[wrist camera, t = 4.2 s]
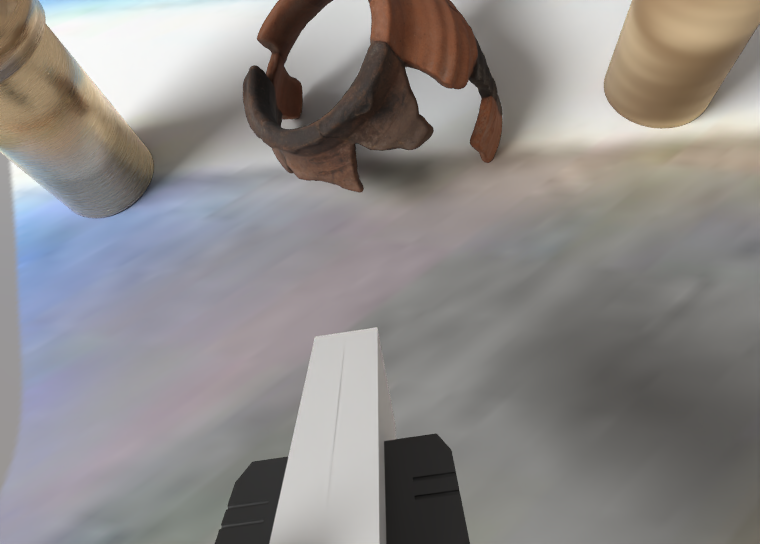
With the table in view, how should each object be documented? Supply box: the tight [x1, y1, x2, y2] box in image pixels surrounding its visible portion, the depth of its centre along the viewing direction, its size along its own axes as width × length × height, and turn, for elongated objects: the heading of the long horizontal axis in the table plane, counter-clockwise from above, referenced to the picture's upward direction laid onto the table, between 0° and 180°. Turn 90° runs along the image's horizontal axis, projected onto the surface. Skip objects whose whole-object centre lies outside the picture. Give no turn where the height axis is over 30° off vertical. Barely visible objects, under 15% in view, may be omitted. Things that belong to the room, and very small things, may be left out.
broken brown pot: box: [243, 0, 502, 192], centre depth 23 cm, size 12×10×8 cm
